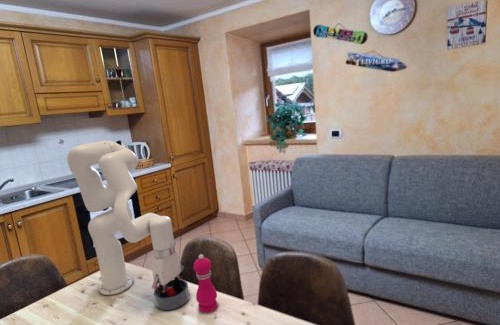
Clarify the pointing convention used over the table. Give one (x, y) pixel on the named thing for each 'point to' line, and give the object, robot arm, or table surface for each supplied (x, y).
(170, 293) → the strawberry
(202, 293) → the pepper mill
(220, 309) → the table surface
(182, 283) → the bowl
